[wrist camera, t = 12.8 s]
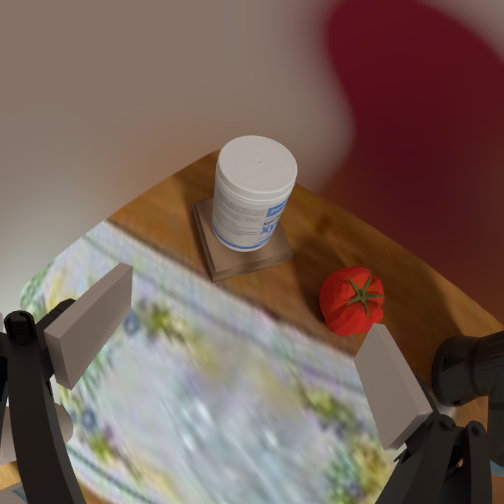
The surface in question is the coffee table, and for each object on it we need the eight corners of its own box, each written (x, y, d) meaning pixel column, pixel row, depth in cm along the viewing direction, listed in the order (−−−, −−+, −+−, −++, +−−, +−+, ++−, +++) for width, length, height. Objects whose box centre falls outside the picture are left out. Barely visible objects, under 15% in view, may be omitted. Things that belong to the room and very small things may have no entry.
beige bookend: (8, 393, 29) (-72, 385, 11) (70, 404, 32) (-10, 412, 14) (13, 431, 26) (-63, 440, 8) (76, 446, 29) (4, 477, 11)
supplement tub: (266, 260, 42) (294, 206, 29) (204, 245, 42) (205, 183, 29) (276, 208, 47) (302, 145, 33) (220, 193, 46) (228, 126, 33)
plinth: (261, 198, 52) (265, 185, 48) (288, 261, 47) (295, 251, 44) (191, 213, 48) (191, 200, 45) (212, 282, 44) (213, 273, 40)
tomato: (328, 267, 48) (350, 245, 40) (375, 302, 47) (404, 287, 39) (297, 316, 44) (317, 302, 36) (350, 352, 42) (378, 346, 35)
